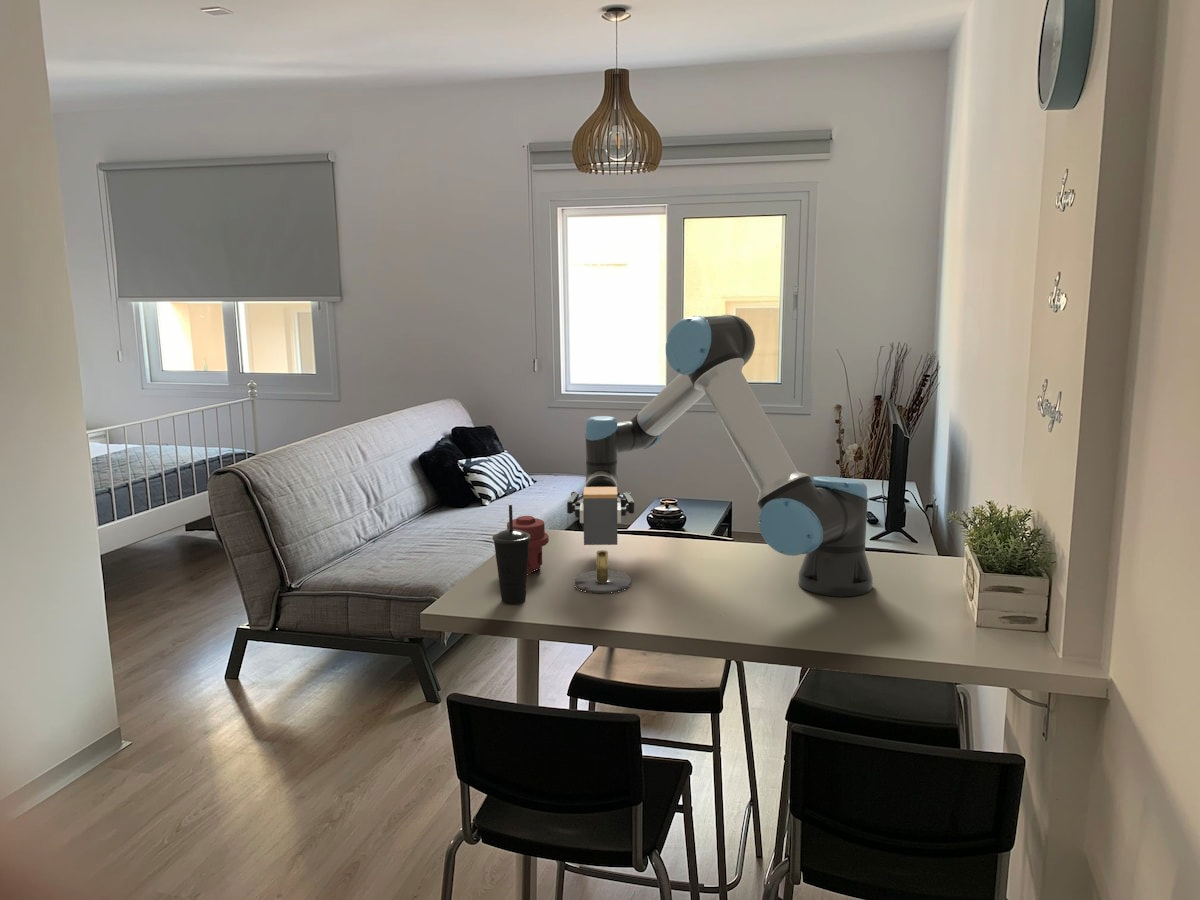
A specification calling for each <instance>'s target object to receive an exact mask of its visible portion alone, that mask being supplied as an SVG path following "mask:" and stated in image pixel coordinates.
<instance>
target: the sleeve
mask: <svg viewBox="0 0 1200 900" xmlns="http://www.w3.org/2000/svg"><path fill="white" fill-rule="evenodd" d="M617 491H618V486H617V487H585V486H584V487H583V493H584V494H583V493H582V494H583V505H584V523H583V545H584V546H595V545H596V546H613V545H614V546H617V545H618V523H617Z"/></svg>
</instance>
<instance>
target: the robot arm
mask: <svg viewBox="0 0 1200 900" xmlns="http://www.w3.org/2000/svg"><path fill="white" fill-rule="evenodd" d="M666 338H667V342H666V344H665V356H666V359H667V362H668V364H669V366H670V367H671V368H672V370H674V371H675V372H676V373H678V375H676V377H674V378H673V379H672V380H671V382H669V383H668V384H667V385H666V386H665V387H664V388H663V389H662V390H661V391H660V392H658V394H656V396H655V397H653V398H652V399H651V400H650V401H649V402H648V403H647V404H646V405H645V406H644V407H643V408H642V409H641V410H640V411H639V412H638V413H637V414H636V415H634V417H632V418H630V419H629V420H626V421H620V422H618V420H617V418H615V416H610V415H609V416H608V415H597V416H590V417H589V418H587V420H586V423H585V433H584V437H585V486H584V487H617V488H618V454H623V453H628V452H633V451H637V450H638V451H639V450H647V449H649V448H651V447H654V446H657V445H658V444H659V443H660V442H661V437H662V435H663V432H664V431H665V430H666V429H668V428H669V427H670V426H671V425H672V424H673V423H674V422H675V421H677V420H678V419H679V418H680V417H682V416H683V414H685V413H686V412H687V411H688V410H689V409H691V407H693V406H694V404H696V403H697V402H698V401H700V400H701V398H703V397H704V396H705V395H706V396H707V398H708V400H709V402H710V404H711V406H712V407H713V409H714V411H715V413H716V414H717V416H718V418H719V420H720V422H721V424H722V426H723V427H724V429H725V431H726V433H727V435H728V436H729V438H730V440H731V442H732V444H733V446H734V447H735V449H736V451H737V452H738V455H739V457H740V459H741V460H742V462H743V464H744V466H745V467H746V469H747V471H748V473H749V474H750V476H751V478H752V480H753V482H754V484H755V485H756V487H757V489H758V492H759V493H758V496H757V497H758V498H757V500H756V504H757V505H758V508H759V509H760V512H759V515H758V518H759V522H758V528H759V532H760V534H761V537H762V538H763V540H764V541H765V543H766V544H767V545H768V546H769V547H770V548H772V550H774V551H775V552H777V553H779V554H783V555H786V556H789V557H790V556H792V557H793V556H800V555H805V556H804V557H803V561H802V564H801V566H800V568H799V571H798V585H799V586H800V587H801V588H802V589H804V590H805V591H809V592H810V593H813V594H818V595H823V596H829V597H841V598H842V597H856V596H862V595H865V594H867V593H869V592H871V591H872V590H873V574H872V571H871V568H870V564H869V561H868V557H867V553H866V538H867V519H868V518H867V516H868V513H867V512H868V503H869V498H868V487H867V485H866V483H864V482H863V481H860V480H857V479H852V478H845V477H836V476H822V475H820V476H819V475H818V476H813V477H810V475H809V474H807V473H805V472H800V471H799V470H798V469H797V467H796V465H795V463H794V462H793V460H792V458H791V457H790V454H788V451H787V450H786V448H785V446H784V445H783V443H782V441H781V439H780V438H779V435H778V434H777V432H776V430H775V428H774V427H773V425H772V423H771V421H770V420H769V417H768V416H767V414H766V412H765V410H764V409H763V407H762V404H760V402H759V400H758V398H757V397H756V395H755V392H754V391H753V389H752V388H751V386H750V385H749V382H748V381H747V379H746V377H745V375H744V373H743V368H744V366H745V365H746V364H747V363H749V361H750V359H751V358H752V357H753V354H754V351H755V347H756V337H755V334H754V331H753V329H752V327H751V326H750V324H749V323H748V322H747V321H745V320H744V319H743V318H741V317H739V316H736V315H732V314H721V315H719V314H718V315H708V316H707V315H706V316H701V315H692V316H691V317H684V318H681V319H680V320H678V321H677V322H675V324H674V325H673V326H672V327H671V329H670V330H669V332H668V335H667V337H666ZM583 494H584V492H582V494H580V493H579V492H577V491H571V492H570V497H569V499H568V500H567V502H566V510H567V511H566V513H567V514H570V515H571V514H573V513H574V516H575V518H577V519H579V524H584V505H583ZM627 512H628V513H629V514H635V501H634V499H633V497H632V492H631V491H625V492H623V493H622V494H620V492H618V490H617V524H622V517H624V516H627Z"/></svg>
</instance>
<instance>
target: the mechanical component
mask: <svg viewBox="0 0 1200 900" xmlns="http://www.w3.org/2000/svg"><path fill="white" fill-rule="evenodd" d="M509 529H510V528H509V521H507V522H506V530H509ZM513 529H516V530H521V531H523V532H526V533H529V534H530V536H531V538H530V539H529V550H528V566H527V574H529V575H530V574H531V573H533V572H535V571H534V570H536V569H539V568H540V569H541V567H542V566H543V547H545V546H546V545H547V544H548V543H549V534H548V533H547V532H545V530H546V528H545V521H544V520H542V519H540V518H538V517H537V518H535V517H534V516H532V515H520V516H518V517H517V518H513ZM540 569H539V570H540ZM532 571H533V572H532ZM536 571H537V570H536ZM530 572H531V573H530Z"/></svg>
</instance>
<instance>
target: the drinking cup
mask: <svg viewBox="0 0 1200 900" xmlns="http://www.w3.org/2000/svg"><path fill="white" fill-rule="evenodd" d="M508 519H509V521H508V522H509V528H510V529H509V530H507V529H504V530H501V531H499V532H497V533H495V534H493V536H492V539H491V540H492V541H493V543H494V552H495V560H496V567H497V576H498V582H499V583H498V584H499V590H500V598H501V599H500V600H501V602H502V604H504V605H510V606H513V605H514V606H515V605H520V604H521V605H522V604H523V603H525V602H526V597H527V581H528V579H527V578H528V575H527V566H528V550H529V539H530V538H531V536H530V534H529V533H526V532H523V531H521V530H516V529H513V520H514V518H513V505H512V504H508Z"/></svg>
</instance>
